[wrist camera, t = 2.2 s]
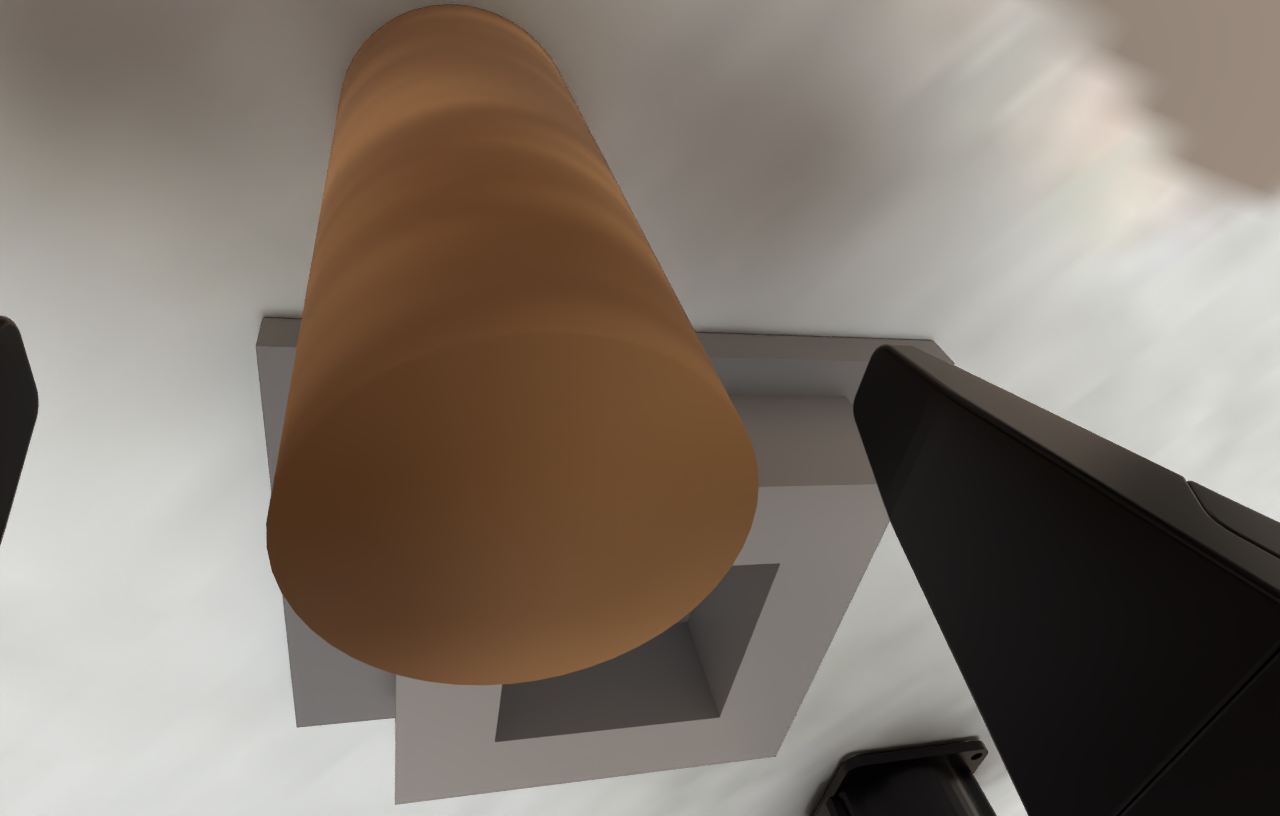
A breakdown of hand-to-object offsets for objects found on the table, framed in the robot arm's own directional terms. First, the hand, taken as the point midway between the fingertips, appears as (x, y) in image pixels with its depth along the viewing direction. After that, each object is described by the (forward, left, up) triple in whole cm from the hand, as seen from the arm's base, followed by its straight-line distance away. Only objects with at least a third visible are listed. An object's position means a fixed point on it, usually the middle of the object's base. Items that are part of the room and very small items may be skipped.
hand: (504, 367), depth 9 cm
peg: (0, 0, -7) cm, 7 cm away
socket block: (-4, +10, -7) cm, 13 cm away
